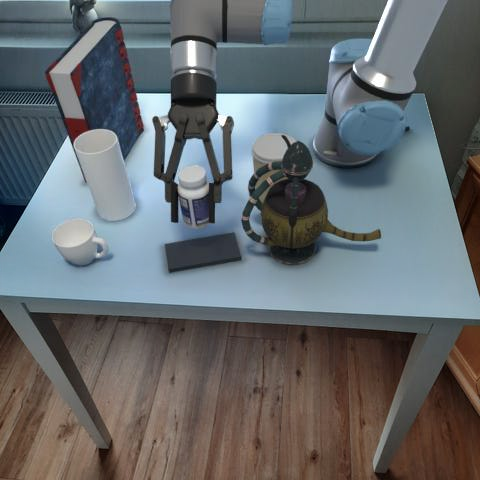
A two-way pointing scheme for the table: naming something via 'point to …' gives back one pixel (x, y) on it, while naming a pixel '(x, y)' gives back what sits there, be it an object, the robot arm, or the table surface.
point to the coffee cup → (269, 155)
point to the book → (97, 85)
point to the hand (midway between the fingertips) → (193, 222)
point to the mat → (202, 252)
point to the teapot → (292, 209)
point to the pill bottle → (194, 196)
